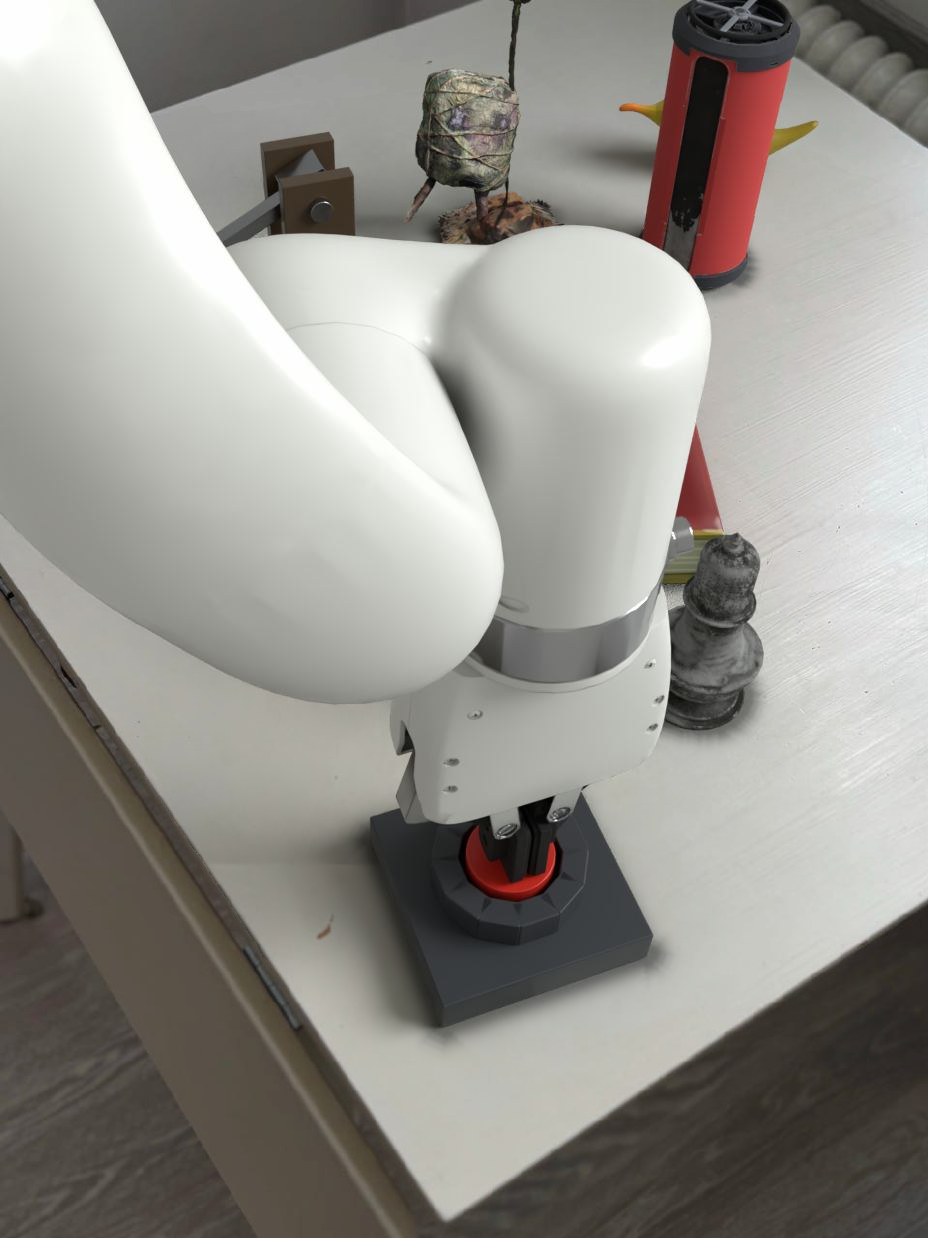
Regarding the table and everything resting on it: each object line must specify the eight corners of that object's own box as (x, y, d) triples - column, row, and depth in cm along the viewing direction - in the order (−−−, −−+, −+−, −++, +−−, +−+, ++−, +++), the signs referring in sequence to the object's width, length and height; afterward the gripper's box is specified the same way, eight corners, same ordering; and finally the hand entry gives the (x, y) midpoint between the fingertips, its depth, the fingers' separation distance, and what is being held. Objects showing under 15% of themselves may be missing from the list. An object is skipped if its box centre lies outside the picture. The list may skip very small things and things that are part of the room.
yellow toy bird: (608, 150, 105) (619, 70, 100) (801, 155, 105) (821, 75, 100) (613, 182, 102) (624, 101, 97) (811, 187, 102) (832, 107, 97)
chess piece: (695, 754, 69) (740, 601, 60) (615, 681, 72) (647, 524, 63) (773, 696, 72) (828, 541, 62) (693, 628, 74) (734, 470, 65)
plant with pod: (406, 202, 99) (407, -81, 84) (560, 207, 100) (590, -74, 84) (402, 269, 94) (403, -19, 79) (565, 274, 94) (598, -12, 79)
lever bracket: (258, 370, 87) (242, 209, 78) (227, 296, 91) (208, 136, 82) (406, 339, 89) (407, 180, 80) (368, 268, 94) (365, 111, 85)
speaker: (618, 269, 95) (655, 18, 81) (664, 216, 99) (707, -32, 85) (719, 307, 93) (775, 54, 79) (762, 250, 97) (822, 2, 83)
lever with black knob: (173, 321, 85) (143, 288, 82) (162, 291, 86) (132, 257, 84) (347, 204, 83) (321, 167, 80) (331, 176, 85) (306, 139, 82)
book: (659, 343, 90) (668, 291, 87) (717, 582, 77) (731, 530, 73) (478, 346, 89) (481, 293, 86) (506, 587, 76) (511, 535, 73)
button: (483, 922, 60) (485, 904, 59) (451, 848, 62) (453, 828, 61) (566, 895, 61) (569, 876, 60) (532, 823, 63) (535, 803, 62)
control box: (441, 1029, 59) (444, 989, 56) (370, 840, 65) (368, 795, 62) (647, 957, 62) (660, 916, 59) (560, 782, 68) (568, 736, 65)
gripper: (693, 458, 50) (630, 739, 64) (304, 556, 47) (328, 831, 61) (794, 604, 46) (702, 871, 60) (373, 725, 42) (381, 979, 56)
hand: (514, 850), depth 60 cm, fingers closed
